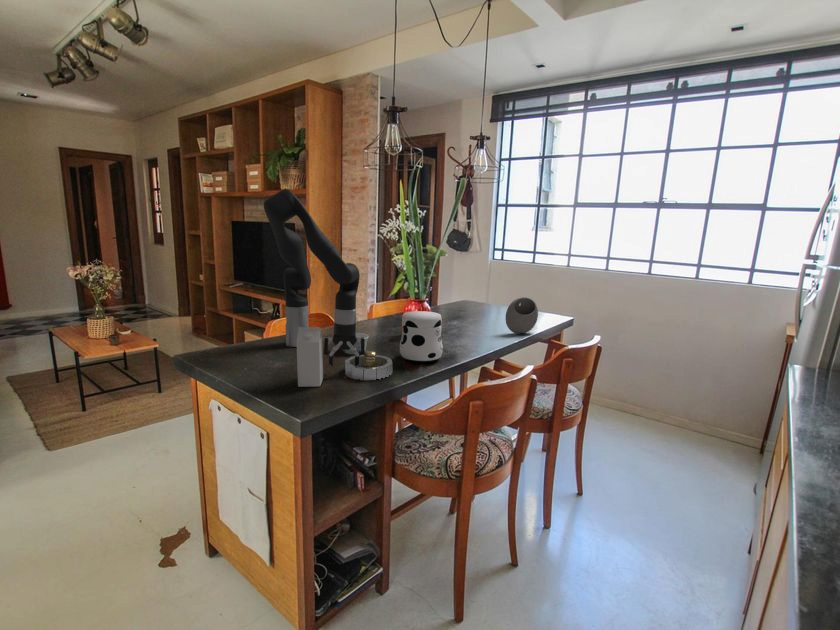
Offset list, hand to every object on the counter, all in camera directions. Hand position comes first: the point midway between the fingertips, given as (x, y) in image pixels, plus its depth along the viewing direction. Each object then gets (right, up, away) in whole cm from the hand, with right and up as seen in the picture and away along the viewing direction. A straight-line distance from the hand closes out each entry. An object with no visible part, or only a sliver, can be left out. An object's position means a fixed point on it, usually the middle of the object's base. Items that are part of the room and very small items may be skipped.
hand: (344, 365), depth 152 cm
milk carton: (-9, -5, -10) cm, 14 cm away
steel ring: (+9, -3, +2) cm, 9 cm away
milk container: (+27, 0, +19) cm, 33 cm away
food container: (0, +3, +27) cm, 27 cm away
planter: (+78, +8, +64) cm, 101 cm away
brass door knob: (+9, -3, +2) cm, 10 cm away
